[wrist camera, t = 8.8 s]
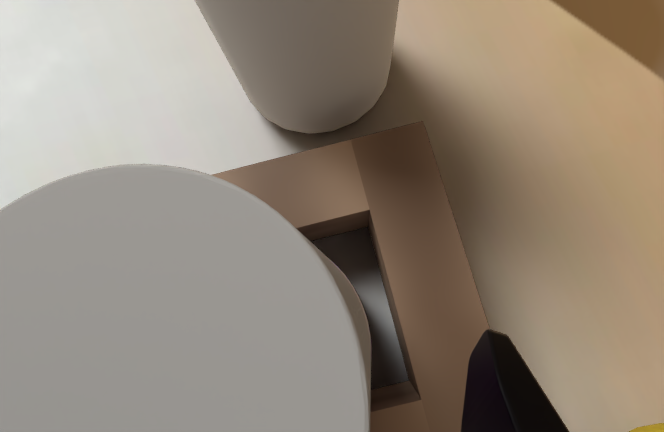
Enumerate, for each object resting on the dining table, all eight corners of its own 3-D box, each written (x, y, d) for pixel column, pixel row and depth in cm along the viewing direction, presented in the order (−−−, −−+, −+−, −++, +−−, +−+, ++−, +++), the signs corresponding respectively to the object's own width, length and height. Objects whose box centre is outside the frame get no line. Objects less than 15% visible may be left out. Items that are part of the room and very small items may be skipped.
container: (348, 393, 17) (278, 903, 3) (248, 358, 18) (-268, 613, 3) (378, 288, 18) (449, 227, 3) (282, 258, 19) (-5, 99, 4)
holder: (197, 511, 17) (155, 565, 13) (155, 218, 20) (112, 200, 16) (499, 438, 16) (536, 474, 13) (411, 153, 19) (422, 120, 16)
